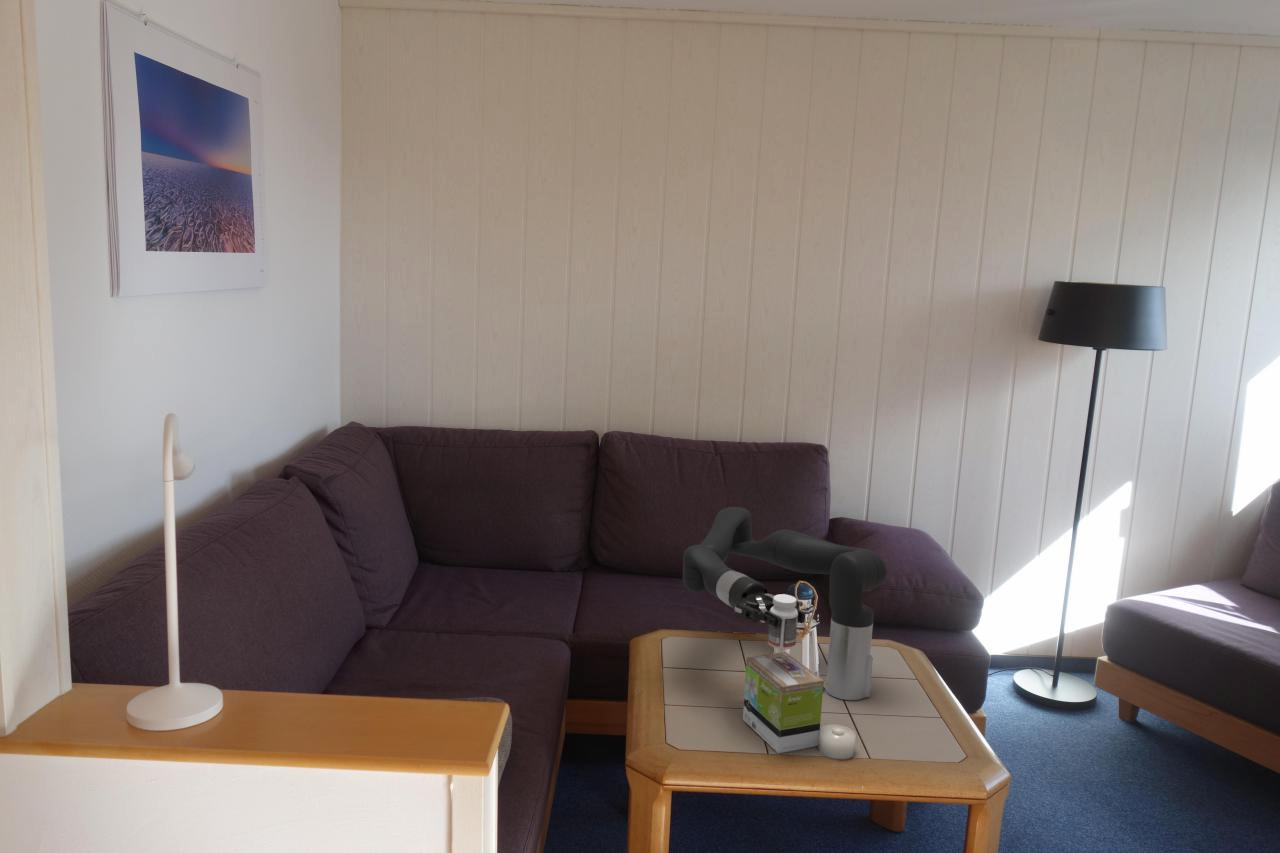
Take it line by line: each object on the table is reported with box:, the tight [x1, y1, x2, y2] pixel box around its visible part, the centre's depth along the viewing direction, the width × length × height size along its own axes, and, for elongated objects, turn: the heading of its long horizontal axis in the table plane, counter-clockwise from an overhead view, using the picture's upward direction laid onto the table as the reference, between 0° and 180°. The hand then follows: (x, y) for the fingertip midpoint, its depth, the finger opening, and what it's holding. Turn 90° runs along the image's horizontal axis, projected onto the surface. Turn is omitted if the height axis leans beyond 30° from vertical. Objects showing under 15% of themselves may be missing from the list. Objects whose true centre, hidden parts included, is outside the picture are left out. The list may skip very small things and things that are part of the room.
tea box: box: [742, 651, 825, 754], centre depth 203 cm, size 15×10×15 cm
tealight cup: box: [818, 723, 857, 761], centre depth 198 cm, size 7×7×5 cm
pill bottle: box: [767, 593, 799, 650], centre depth 201 cm, size 6×6×10 cm
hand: (791, 620), depth 199 cm, fingers closed on pill bottle, 5 cm apart
